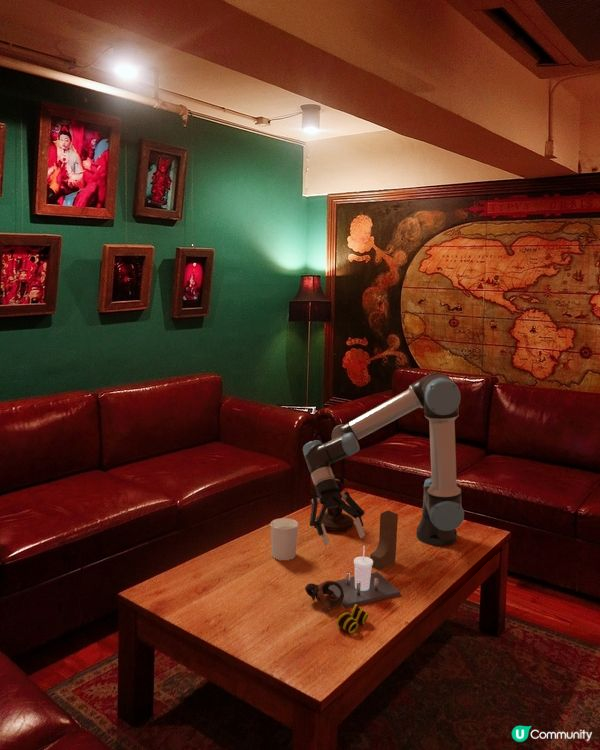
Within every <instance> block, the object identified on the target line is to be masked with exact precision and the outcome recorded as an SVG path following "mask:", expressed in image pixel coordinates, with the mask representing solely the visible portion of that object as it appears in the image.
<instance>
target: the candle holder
mask: <svg viewBox="0 0 600 750" xmlns="http://www.w3.org/2000/svg"><path fill="white" fill-rule="evenodd" d="M298 531H299V522H298V521H297V520H295V519H293V518H288V517H287V518H286V517H284V518H282V517H281V518H276V519H272V521H271V522H270V541H271V542H270V543H271V556H272V558H273V557H274V558H273V559H275V558H276V559H275V560H277V559H278V560H277V561H281V560H288V561H291V560H294V558H296V556H297V555H296V554H297V544H298ZM290 559H291V560H290Z"/></svg>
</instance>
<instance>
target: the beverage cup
mask: <svg viewBox="0 0 600 750" xmlns="http://www.w3.org/2000/svg"><path fill="white" fill-rule="evenodd" d="M365 549H366V545H363V549H362V556H357V557H354V558H353V564H354V577H355V588H356V589H357V582H358V581H359V582H361V587H360V591H366V590H368V589H369V586H370V577H371V573H372V568H373V567H372V565H373V560H372V559H370V557H368V556H365V553H366V552H365Z"/></svg>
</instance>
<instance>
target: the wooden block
mask: <svg viewBox="0 0 600 750" xmlns="http://www.w3.org/2000/svg"><path fill="white" fill-rule="evenodd" d="M379 515H380V516H379V517H380V518H379V536H378V537H379V538H378V544H377V546H376V548H375V550H374V551H372V553H370V556H369V558H370V559H372V560H373V565H372V568H373V569H376V570H377V571H381V570H382V569H384V568H387V567H389V566H391V565H392V564H395V563H396V559H397V558H396V556H397V555H396V553H397V540H398V539H397V537H398V536H397V535H398V523H399V522H398V521H399V520H398V519H399V514H398V513H396V512H393V511H391V510H386V511H383V512H380V514H379Z"/></svg>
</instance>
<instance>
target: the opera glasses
mask: <svg viewBox="0 0 600 750" xmlns="http://www.w3.org/2000/svg"><path fill="white" fill-rule="evenodd" d="M368 618H369V612H366V611H364V609H363V608H360V607H359V605H357V604H355V606H353V608H352V611H351V613H350V612H344V613H342V614H340V615H339V616H338V618H337V620H336V626H337V627H338V628H339V629H343V630H344V631H347V632H348V633H349V634H351V635H352V634H354V633H355V632H356V631H357V630H358V628H359V623H360V624H362V625H363V626H364V625H365V624H367V621H368Z"/></svg>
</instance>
